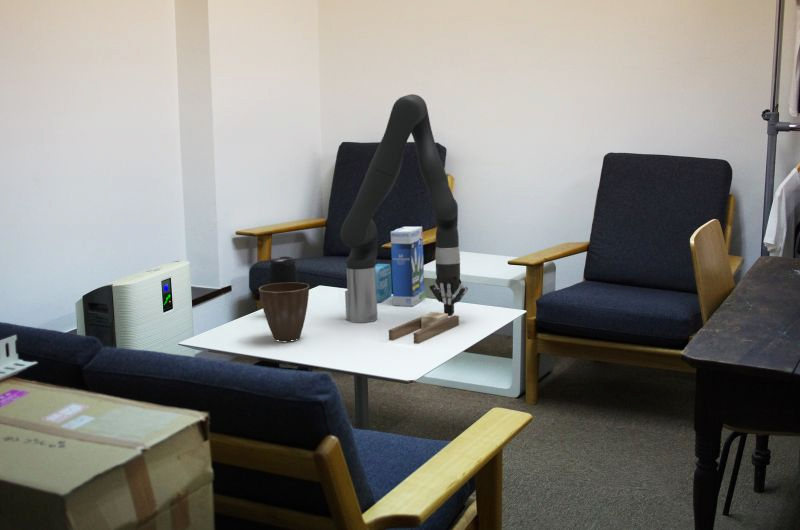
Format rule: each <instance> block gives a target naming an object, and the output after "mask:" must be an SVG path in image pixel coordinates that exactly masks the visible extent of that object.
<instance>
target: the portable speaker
mask: <svg viewBox="0 0 800 530" xmlns="http://www.w3.org/2000/svg"><path fill="white" fill-rule="evenodd" d="M269 263H270V264H269V271H268V282H269V284H275V283H287V282H295V283H299V281H298V280H299V279H298V278H299V277H298V272H297V267H296V262H295V258H293V257H291V256H286V255H285V256H279V257H277V258H270V260H269Z"/></svg>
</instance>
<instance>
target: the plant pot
mask: <svg viewBox="0 0 800 530" xmlns="http://www.w3.org/2000/svg"><path fill="white" fill-rule="evenodd" d="M258 292H259V297H260V303H261V306H262V309H263V313H264V315H265V319H266V320H265V321H266V322H267V325H268V327H269V331H270V332H271V334H272V337H273V340H274V341H275V340H279V341H291V340H296V339H298V340H300V338H301V335H302V332H303V328H304V325H305V320H306V314H307V312H308V311H307V310H308V304H309V294H310V285H309V283H304V282H298V283H295V282H287V283H275V284H266V285H265V284H264V285H262V286H260V287H259V288H258ZM296 341H297V340H296ZM291 342H292V341H291Z"/></svg>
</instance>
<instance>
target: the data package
mask: <svg viewBox="0 0 800 530" xmlns="http://www.w3.org/2000/svg"><path fill="white" fill-rule="evenodd" d="M375 272H376V295H377V303H382V302H384V301H386V300H388V299H389V298H391V297H392V296H393V282H392V265H391V264H390V263H377V264H375Z"/></svg>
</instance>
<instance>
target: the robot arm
mask: <svg viewBox="0 0 800 530" xmlns="http://www.w3.org/2000/svg"><path fill="white" fill-rule="evenodd" d="M391 108H392V109H391V111H390V114H389V119H388V122H387V125H386V128H385V130H384V134H383V136H382V138H381V141H380V143H379V145H377V149H376V150H375V153H374V155H373V158H372V159H371V161H370V163H369V167H368V169H367V171H366V174H365V177H364V179H363V182H362V184H361V186H360V188H359V191H358V193H357V196H356V199H355V200H354V202H353V204H352V207H351V209H350V210H349V213H348V215H347V216H346V217H345V220H344V221H343V223H342V225H341V228H340V238H341V241H342V243H343V244H344V245H345V246H346V247H348V248H350V249H351V250H350V253H349V255H348V257H347V258H346V259H345V260H346V261H345V262H346V263H345V265H346V285H347V290H345V291H344V297H345V298H344V299H345V316H346V317H345V320H346V321H349V322H352V323H369V322H370V323H371V322H374V321H376V320H378V302H377V295H376V272H375V265H376V261H377V257H378V229H377V226H376V223H375V221H374V219H373V217H374V214H375V212H376V211H377V209H378V207H380V205H381V204H382V203H383V202H384V201H385V199H386V198H387V196H388V195H389V194H390V192H391V191H392V189H393V187H394V185H395V183H396V182H397V179H398V177H399V174H400V171H401V168H402V164H403V159H404V152H405V149H406V145H407V143H408V140H409V138H410V136H412V138H413V143H414V145H415V150H416V156H417V162H418V167H419V171H420V174H421V176H422V179H423V183H424V185H425V187H426V189H427V192H428V194H429V198H430V201H431V205H432V207H433V211H434V214H435V221H436V225H435V226H436V231H435V253H434V254H435V276H436V279H435V280H434V281H435V283H433V284H431V285H429V289H430V291H431V293H432V294H433V295H434V297H435V299H436V300H437V301H438V303H442V304H443V313H446V314H448V317H452V316H454V315H455V314H454V313H455V304H457V303H459V302H460V301H461V300H462V298H463V297H464V296H465V294H467V292H468V290H469V289H468V287H467V286H464V285H463V284H462V280H461V278H460V277H461V253H460V244H459V243H460V240H459V239H460V238H459V231H458V221H459V220H458V219H459V215H458V214H459V207H458V206H459V205H458V201H456V199H455V198H454V195H453V192H452V190H451V187H450V183H449V179H448V176H447V173H446V171H445V167H444V165H443V162H442V160H441V157H440V154H439V151H438V148H437V146H436V145H437V144H436V142H435V138H434V135H433V129H432V127H431V121H430V117H429V116H430V115H429V110H428V106H427V103H426V101H425V100H424V98H423V97H422V96H420V95H418V94H412V93H411V94H407V95H404V96H401V97H399V98H398V99H397V100H396V101H395V102H394V103H393V105H392V107H391Z"/></svg>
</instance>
